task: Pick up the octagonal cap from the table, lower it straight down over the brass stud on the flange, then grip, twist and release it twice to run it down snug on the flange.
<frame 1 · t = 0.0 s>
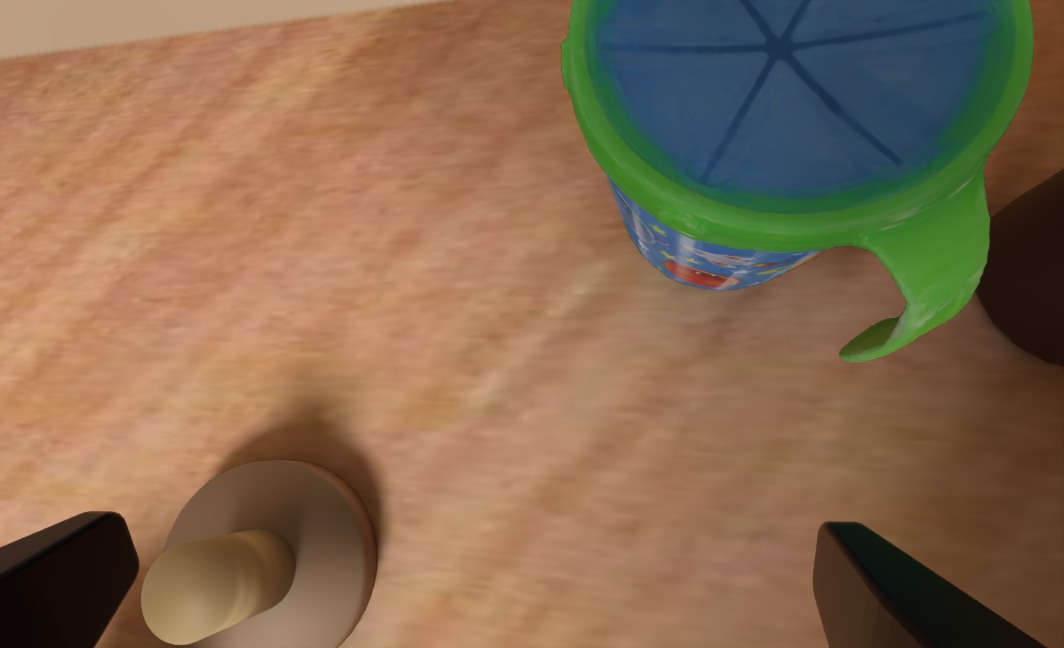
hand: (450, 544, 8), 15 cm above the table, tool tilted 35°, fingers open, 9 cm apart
stub: (280, 562, 23), on the table
snack cup: (713, 206, 24), on the table
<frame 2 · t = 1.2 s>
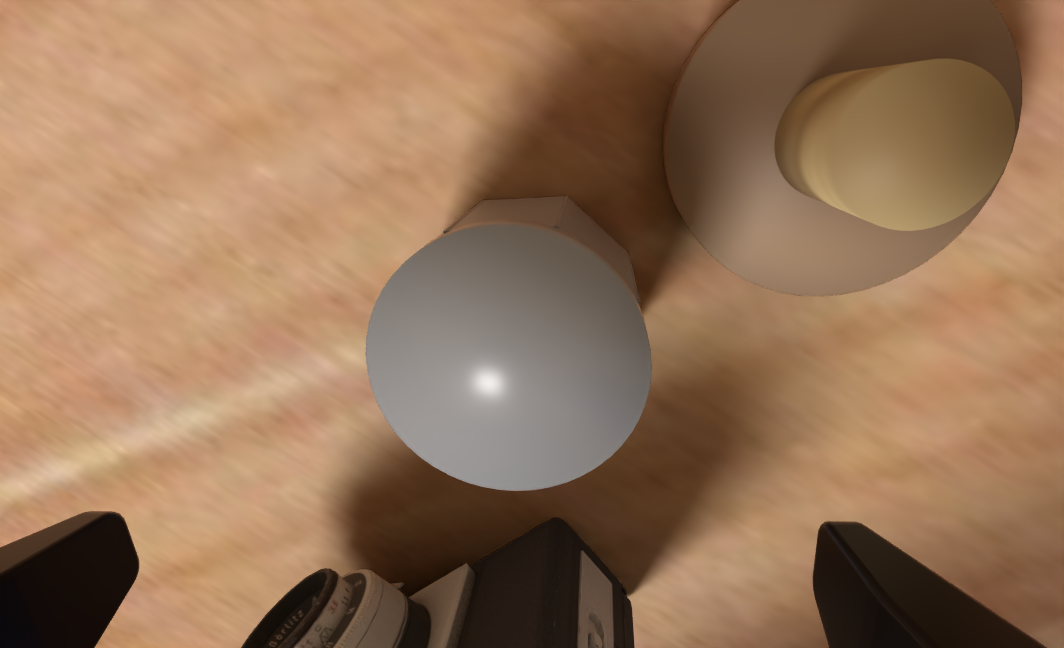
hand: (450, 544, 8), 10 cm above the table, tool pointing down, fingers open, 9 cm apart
stub: (815, 135, 15), on the table
cap: (531, 295, 17), on the table
camera: (418, 600, 22), on the table
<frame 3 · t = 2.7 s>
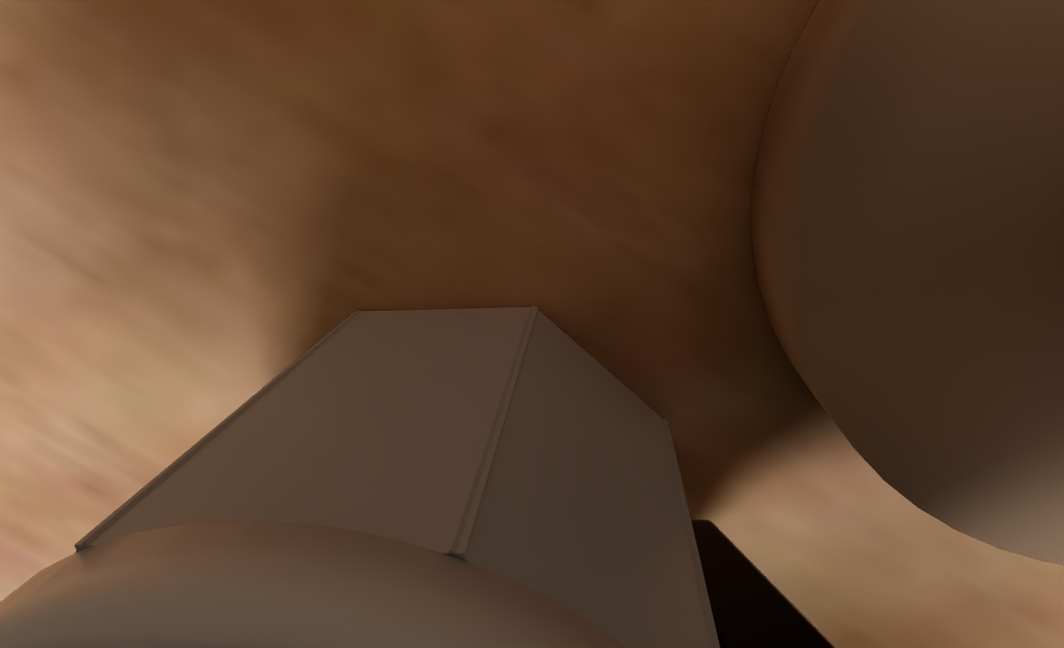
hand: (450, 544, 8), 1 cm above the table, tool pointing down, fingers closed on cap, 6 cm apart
cap: (466, 494, 8), on the table, touching gripper
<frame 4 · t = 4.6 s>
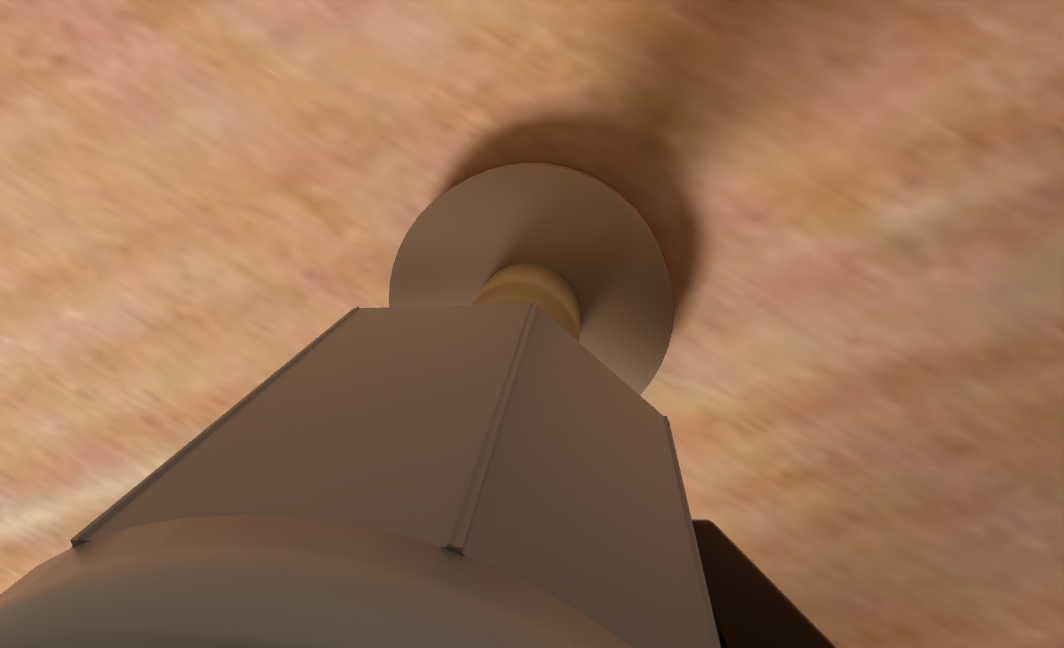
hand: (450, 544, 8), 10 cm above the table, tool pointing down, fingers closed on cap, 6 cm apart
stub: (533, 297, 17), on the table
cap: (466, 492, 8), point 9 cm above the table, touching gripper
when the fingers open (3 cm above the table, at t = 6.5 s): cap stays where it is, resting on stub.
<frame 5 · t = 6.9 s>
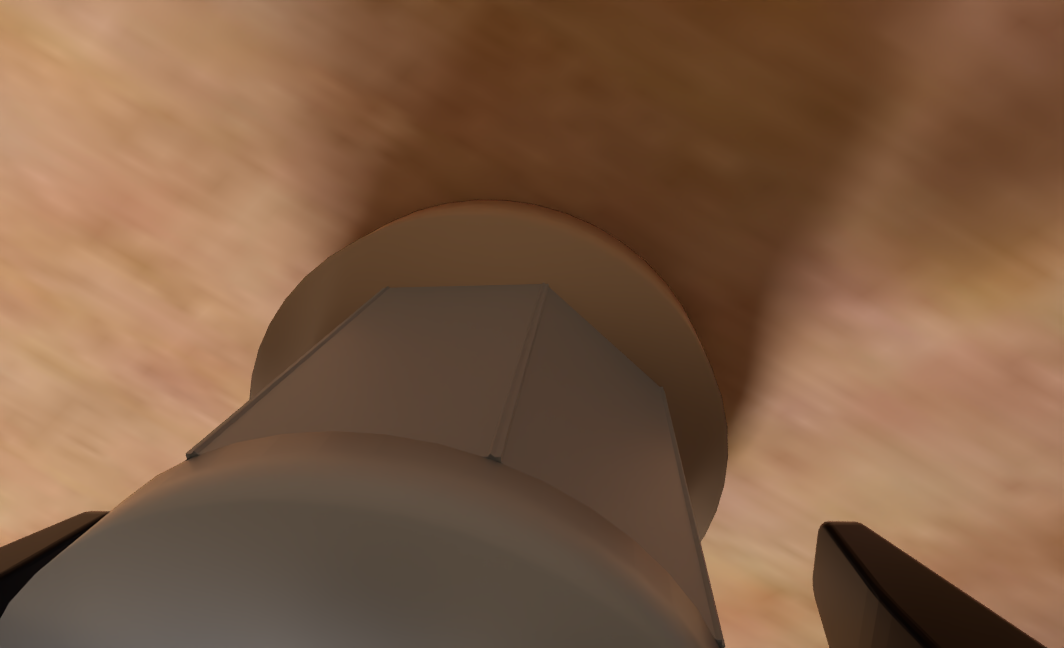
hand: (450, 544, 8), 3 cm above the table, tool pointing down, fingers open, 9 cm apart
stub: (495, 410, 11), on the table
cap: (481, 456, 9), point 1 cm above the table, touching stub
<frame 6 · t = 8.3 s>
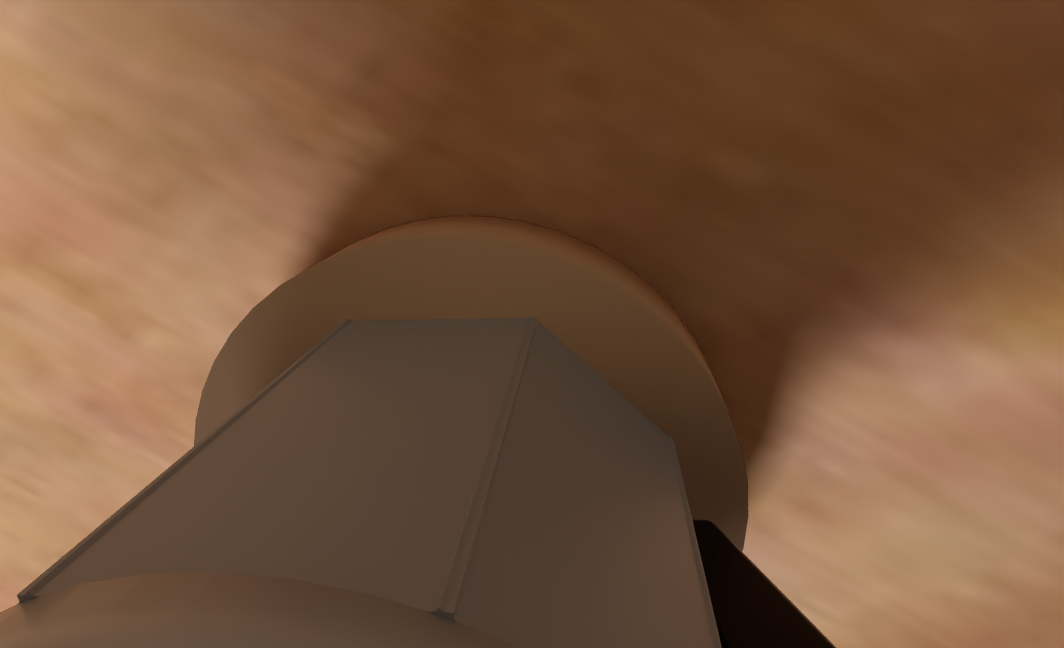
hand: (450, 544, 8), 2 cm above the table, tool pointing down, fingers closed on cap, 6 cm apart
stub: (480, 452, 10), on the table
cap: (461, 512, 8), point 1 cm above the table, touching gripper, stub
when the fingers open (3 cm above the table, at t = 9.4 s): cap drops 1 cm, resting on stub.
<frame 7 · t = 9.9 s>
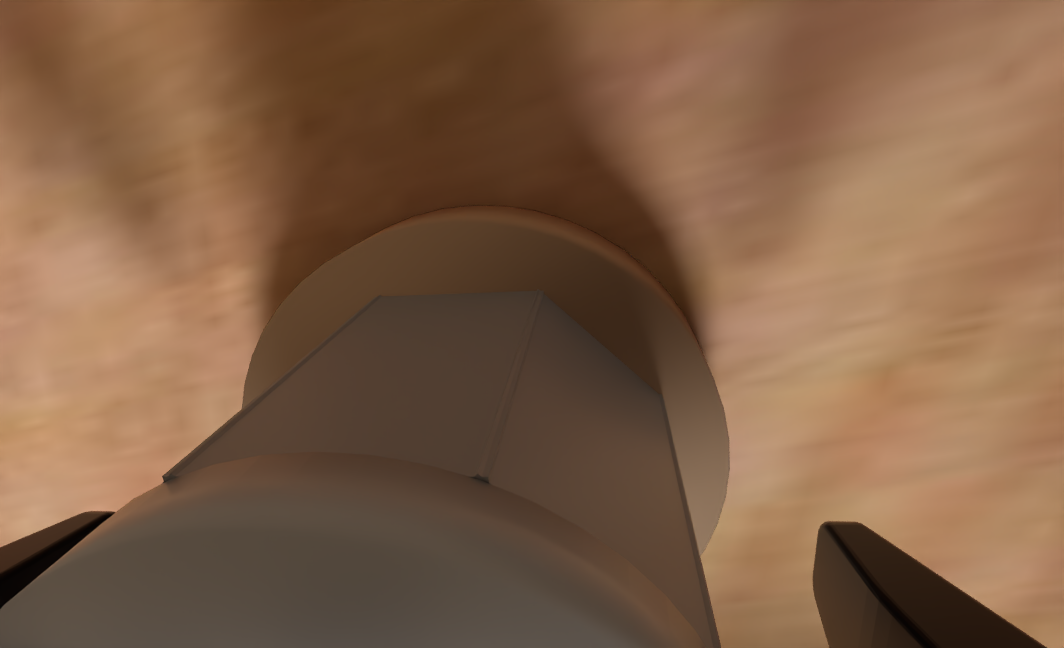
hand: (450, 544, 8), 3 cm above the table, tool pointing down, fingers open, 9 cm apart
stub: (492, 419, 11), on the table
cap: (477, 466, 9), point 1 cm above the table, touching stub
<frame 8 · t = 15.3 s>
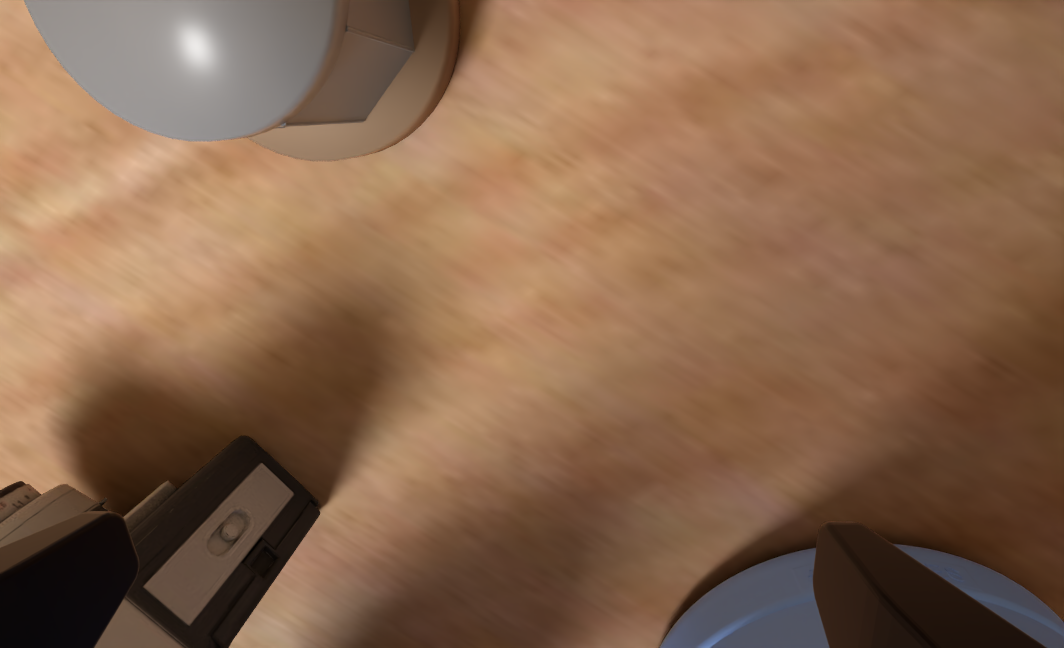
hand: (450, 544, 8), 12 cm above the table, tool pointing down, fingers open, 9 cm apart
stub: (328, 18, 17), on the table
cap: (303, 10, 15), point 1 cm above the table, touching stub
camera: (150, 522, 24), on the table
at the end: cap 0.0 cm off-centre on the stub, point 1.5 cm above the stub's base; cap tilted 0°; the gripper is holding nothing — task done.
